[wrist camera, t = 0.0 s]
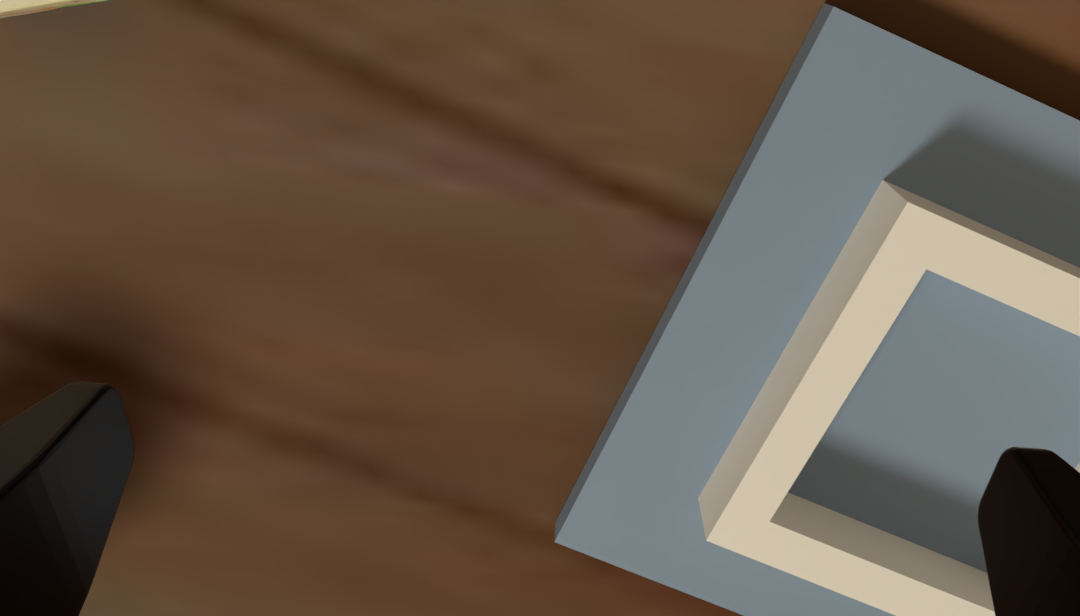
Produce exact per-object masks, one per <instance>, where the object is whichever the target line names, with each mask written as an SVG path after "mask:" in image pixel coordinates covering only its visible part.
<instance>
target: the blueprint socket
mask: <svg viewBox="0 0 1080 616" xmlns="http://www.w3.org/2000/svg"><path fill="white" fill-rule="evenodd" d="M1011 447H1026V448H1040V449H1047V450H1050V451H1053V452H1054V453H1056V454H1057V455H1059V456H1060V457H1061V458H1062V459H1064V460H1065V461H1066V462H1067V463H1068V464H1070V465H1071V466H1072V467H1073V468H1075V469H1076V470H1077V471H1078V472H1080V121H1079V120H1077V119H1075V118H1073V117H1071V116H1069V115H1066V114H1064V113H1062V112H1060V111H1058V110H1056V109H1054V108H1051V107H1049V106H1047V105H1045V104H1043V103H1041V102H1038V101H1036V100H1034V99H1032V98H1030V97H1028V96H1026V95H1023V94H1021V93H1019V92H1017V91H1015V90H1013V89H1010V88H1008V87H1006V86H1004V85H1002V84H1000V83H998V82H995V81H993V80H991V79H989V78H987V77H985V76H983V75H980V74H978V73H976V72H974V71H972V70H970V69H967V68H965V67H963V66H961V65H959V64H957V63H955V62H952V61H950V60H948V59H946V58H944V57H942V56H939V55H937V54H935V53H933V52H931V51H929V50H927V49H924V48H922V47H920V46H918V45H916V44H914V43H911V42H909V41H907V40H905V39H903V38H901V37H899V36H896V35H894V34H892V33H890V32H888V31H886V30H883V29H881V28H879V27H877V26H875V25H873V24H871V23H868V22H866V21H864V20H862V19H860V18H858V17H855V16H853V15H851V14H849V13H847V12H845V11H843V10H840V9H838V8H836V7H834V6H831V5H828V4H825V3H824V4H823V6H822V8H821V10H820V12H819V14H818V15H817V17H816V19H815V21H814V23H813V25H812V27H811V29H810V31H809V33H808V35H807V37H806V39H805V41H804V43H803V44H802V46H801V48H800V50H799V52H798V54H797V56H796V58H795V60H794V62H793V64H792V66H791V68H790V70H789V72H788V73H787V75H786V77H785V79H784V81H783V83H782V85H781V87H780V89H779V91H778V93H777V95H776V97H775V99H774V101H773V103H772V104H771V106H770V108H769V110H768V112H767V114H766V116H765V118H764V120H763V122H762V124H761V126H760V128H759V130H758V132H757V133H756V135H755V137H754V139H753V141H752V143H751V145H750V147H749V149H748V151H747V153H746V155H745V157H744V159H743V161H742V162H741V164H740V166H739V168H738V170H737V172H736V174H735V176H734V178H733V180H732V182H731V184H730V186H729V188H728V190H727V191H726V193H725V195H724V197H723V199H722V201H721V203H720V205H719V207H718V209H717V211H716V213H715V215H714V217H713V219H712V221H711V222H710V224H709V226H708V228H707V230H706V232H705V234H704V236H703V238H702V240H701V242H700V244H699V246H698V248H697V250H696V251H695V253H694V255H693V257H692V259H691V261H690V263H689V265H688V267H687V269H686V271H685V273H684V275H683V277H682V279H681V280H680V282H679V284H678V286H677V288H676V290H675V292H674V294H673V296H672V298H671V300H670V302H669V304H668V306H667V308H666V310H665V311H664V313H663V315H662V317H661V319H660V321H659V323H658V325H657V327H656V329H655V331H654V333H653V335H652V337H651V339H650V340H649V342H648V344H647V346H646V348H645V350H644V352H643V354H642V356H641V358H640V360H639V362H638V364H637V366H636V368H635V369H634V371H633V373H632V375H631V377H630V379H629V381H628V383H627V385H626V387H625V389H624V391H623V393H622V395H621V397H620V398H619V400H618V402H617V404H616V406H615V408H614V410H613V412H612V414H611V416H610V418H609V420H608V422H607V424H606V426H605V428H604V429H603V431H602V433H601V435H600V437H599V439H598V441H597V443H596V445H595V447H594V449H593V451H592V453H591V455H590V457H589V458H588V460H587V462H586V464H585V466H584V468H583V470H582V472H581V474H580V476H579V478H578V480H577V482H576V484H575V486H574V487H573V489H572V491H571V493H570V495H569V497H568V499H567V501H566V503H565V505H564V507H563V509H562V511H561V513H560V515H559V517H558V518H557V520H556V525H555V541H554V542H556V543H558V544H561V545H563V546H566V547H569V548H571V549H574V550H576V551H579V552H581V553H584V554H587V555H589V556H592V557H594V558H597V559H600V560H602V561H605V562H607V563H610V564H612V565H615V566H618V567H620V568H623V569H625V570H628V571H630V572H633V573H636V574H638V575H641V576H643V577H646V578H648V579H651V580H654V581H656V582H659V583H661V584H664V585H666V586H669V587H672V588H674V589H677V590H679V591H682V592H685V593H687V594H690V595H692V596H695V597H697V598H700V599H703V600H705V601H708V602H710V603H713V604H715V605H718V606H721V607H723V608H726V609H728V610H731V611H733V612H736V613H739V614H741V615H744V616H995V612H994V606H993V601H992V596H991V591H990V586H989V580H988V575H987V570H986V565H985V559H984V554H983V549H982V544H981V538H980V533H979V528H978V507H979V503H980V500H981V498H982V495H983V493H984V491H985V489H986V486H987V484H988V482H989V480H990V478H991V475H992V473H993V471H994V469H995V466H996V464H997V462H998V460H999V458H1000V456H1001V454H1002V453H1003V452H1004V451H1005V450H1006V449H1008V448H1011Z"/></svg>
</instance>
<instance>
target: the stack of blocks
mask: <svg viewBox="0 0 1080 616" xmlns="http://www.w3.org/2000/svg"><path fill="white" fill-rule="evenodd" d="M102 1H109V0H0V18H5V17H11V16H17V15H23V14H29V13H35V12H41V11H47V10H53V9H56V8H61V7H69V6H76V5H83V4H89V3H96V2H102Z"/></svg>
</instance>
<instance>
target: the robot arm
mask: <svg viewBox="0 0 1080 616" xmlns="http://www.w3.org/2000/svg"><path fill="white" fill-rule="evenodd" d="M133 458H134V441H133V437H132V433H131V430H130V427H129V423H128V420H127V416H126V413H125V410H124V406H123V403H122V399H121V396H120V394H119V391H118V390H117V389H116V387H115V386H113V385H111V384H109V383H100V382H86V381H76V382H71V383H69V384H67V385H65V386H63V387H62V388H60V389H59V390H57V391H55V392H54V393H52V394H50V395H49V396H47V397H45V398H44V399H42V400H41V401H39V402H37V403H36V404H34V405H32V406H31V407H29V408H28V409H26V410H24V411H23V412H21V413H19V414H18V415H16V416H15V417H13V418H11V419H10V420H8V421H6V422H5V423H3V424H2V425H0V616H79V613H80V611H81V609H82V606H83V604H84V602H85V600H86V597H87V595H88V592H89V590H90V587H91V584H92V582H93V579H94V576H95V573H96V570H97V568H98V565H99V562H100V559H101V556H102V553H103V550H104V547H105V544H106V541H107V538H108V535H109V532H110V529H111V526H112V523H113V520H114V517H115V514H116V511H117V508H118V505H119V502H120V499H121V496H122V493H123V490H124V487H125V484H126V481H127V478H128V475H129V472H130V469H131V466H132V463H133ZM978 528H979V533H980V538H981V544H982V549H983V554H984V559H985V565H986V570H987V575H988V580H989V586H990V591H991V596H992V601H993V606H994V612H995V616H1080V472H1078V471H1077V470H1076V469H1075V468H1073V467H1072V466H1071V465H1070V464H1068V463H1067V462H1066V461H1065V460H1064V459H1062V458H1061V457H1060V456H1059V455H1057V454H1056V453H1054V452H1053V451H1050V450H1047V449H1040V448H1026V447H1011V448H1008V449H1006V450H1005V451H1004V452H1003V453H1002V454H1001V456H1000V458H999V460H998V462H997V464H996V466H995V469H994V471H993V473H992V475H991V478H990V480H989V482H988V484H987V486H986V489H985V491H984V493H983V495H982V498H981V500H980V503H979V507H978Z"/></svg>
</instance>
